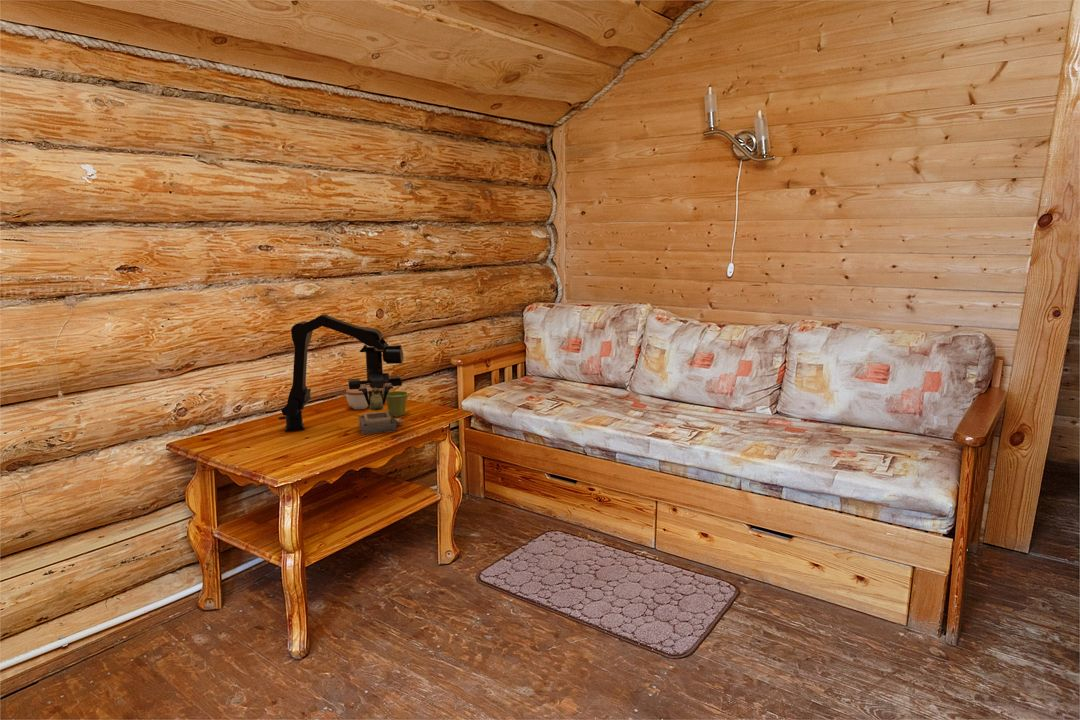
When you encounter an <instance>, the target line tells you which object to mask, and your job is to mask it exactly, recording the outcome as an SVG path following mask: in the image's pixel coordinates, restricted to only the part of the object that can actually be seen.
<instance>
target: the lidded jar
mask: <svg viewBox="0 0 1080 720" xmlns="http://www.w3.org/2000/svg"><path fill="white" fill-rule="evenodd" d="M366 388H367V393H368V398H369V390H371V389H373V388H371V387H370V386H366ZM345 397H346V401H347V403H348V405H349V406H350V407H351V408H352V409H353V410H364V409H365V410H366V409H368V407H369V406H368V404H367V401H366V398H365V396H364V394H363V392H362V391H359V390H358V389H349V387H348V388H346V389H345Z"/></svg>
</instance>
